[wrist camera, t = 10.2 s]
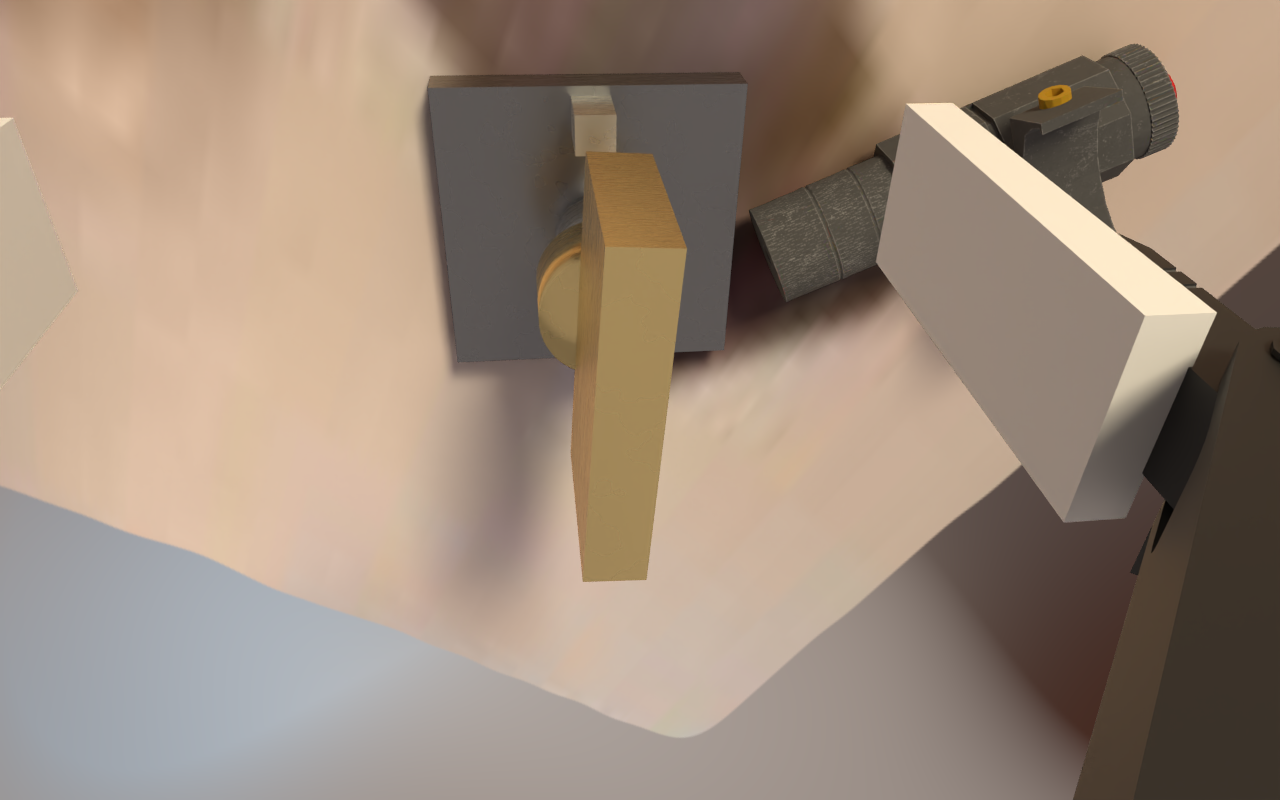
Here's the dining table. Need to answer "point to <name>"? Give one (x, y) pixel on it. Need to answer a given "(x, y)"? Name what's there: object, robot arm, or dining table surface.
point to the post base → (577, 188)
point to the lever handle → (616, 352)
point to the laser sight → (1021, 119)
